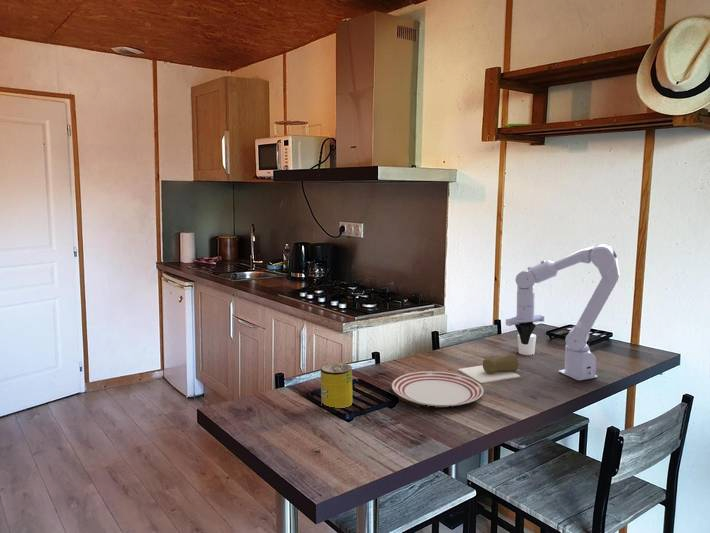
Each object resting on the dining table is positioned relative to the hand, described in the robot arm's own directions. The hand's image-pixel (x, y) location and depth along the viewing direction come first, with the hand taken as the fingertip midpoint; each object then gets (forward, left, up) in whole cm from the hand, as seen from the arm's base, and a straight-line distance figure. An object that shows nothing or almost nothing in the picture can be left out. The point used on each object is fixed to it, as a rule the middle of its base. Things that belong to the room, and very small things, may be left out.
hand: (524, 343), depth 189 cm
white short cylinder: (+13, -11, -9) cm, 19 cm away
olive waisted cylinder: (-2, +6, -5) cm, 8 cm away
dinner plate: (-11, +40, -9) cm, 42 cm away
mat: (-1, +15, -8) cm, 17 cm away
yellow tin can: (-8, +71, -9) cm, 72 cm away
